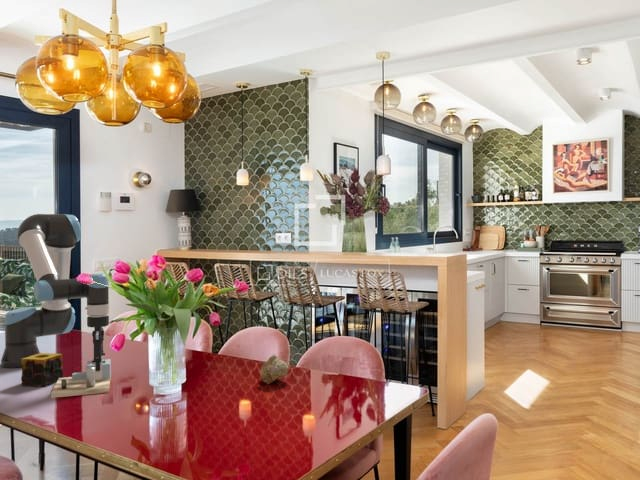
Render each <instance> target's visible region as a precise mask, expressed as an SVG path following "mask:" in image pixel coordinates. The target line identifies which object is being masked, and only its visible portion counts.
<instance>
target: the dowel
mask: <svg viewBox="0 0 640 480" xmlns="http://www.w3.org/2000/svg"><path fill="white" fill-rule="evenodd" d="M61 386H62V389H66V388H67V380H66V379H63V380H61Z"/></svg>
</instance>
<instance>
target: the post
mask: <svg viewBox="0 0 640 480" xmlns="http://www.w3.org/2000/svg"><path fill="white" fill-rule="evenodd" d="M85 372H86V387H87V388H90V387H95V367H87V368H86V367H85Z"/></svg>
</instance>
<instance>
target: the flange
mask: <svg viewBox="0 0 640 480" xmlns="http://www.w3.org/2000/svg"><path fill="white" fill-rule="evenodd" d="M92 361H93V360H87V363H86V366H85V369H86V368H87V367H94V362H93V363H92ZM111 362H112V360H111V358H107V359H103V360H102V379H110V376H111V377H112V366H111V365H112V364H111ZM71 377H72V381H73V380H84V379H86V371H81V372H73V373H72V374H71ZM102 379H101V380H102Z"/></svg>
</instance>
